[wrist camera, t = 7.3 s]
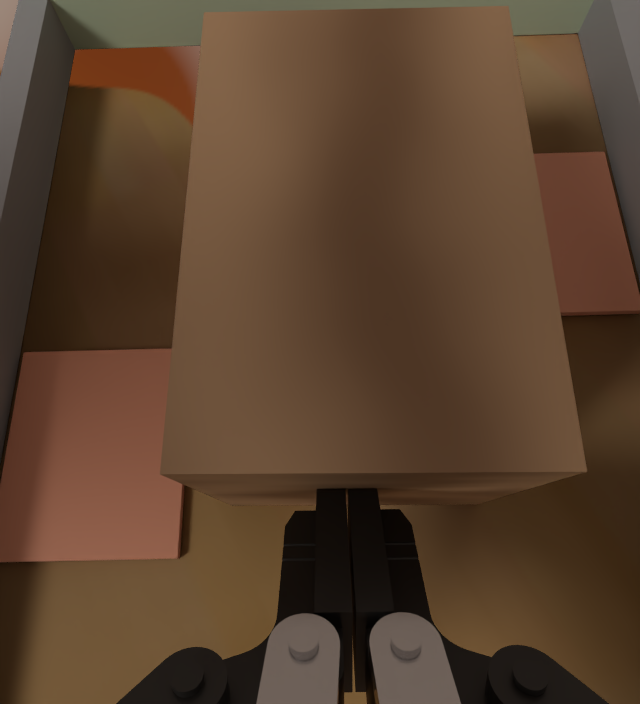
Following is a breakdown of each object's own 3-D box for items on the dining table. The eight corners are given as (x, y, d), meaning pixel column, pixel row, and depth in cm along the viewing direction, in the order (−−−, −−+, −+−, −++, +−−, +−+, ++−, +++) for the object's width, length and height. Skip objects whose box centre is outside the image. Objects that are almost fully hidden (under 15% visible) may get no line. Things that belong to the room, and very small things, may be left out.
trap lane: (-141, 983, 14) (-383, 1208, 9) (52, 30, 25) (-12, -89, 20) (859, 972, 14) (1140, 1197, 9) (599, 12, 25) (661, -112, 20)
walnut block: (232, 505, 18) (159, 474, 10) (247, 197, 22) (203, 12, 14) (477, 504, 18) (587, 471, 10) (447, 193, 22) (508, 6, 14)
